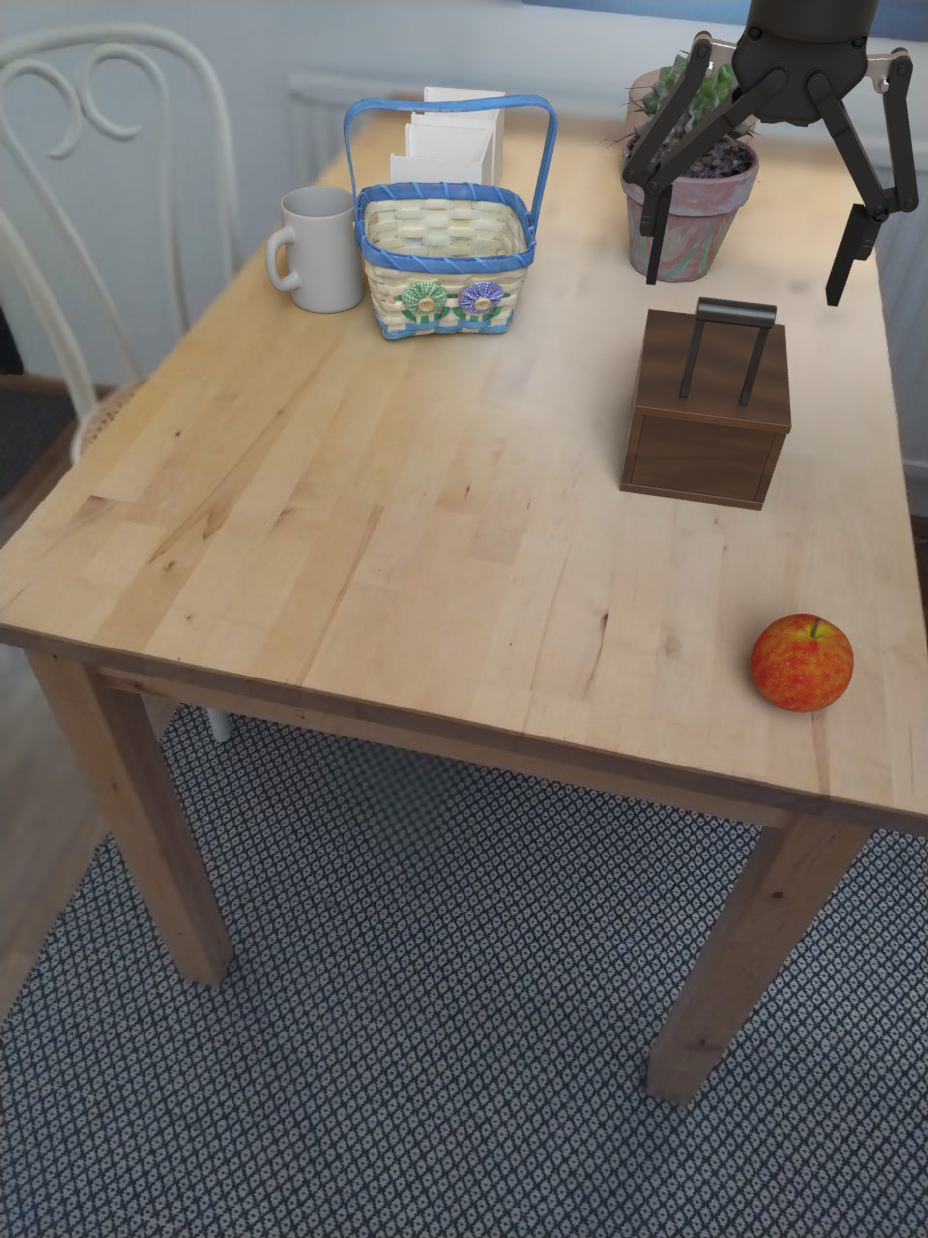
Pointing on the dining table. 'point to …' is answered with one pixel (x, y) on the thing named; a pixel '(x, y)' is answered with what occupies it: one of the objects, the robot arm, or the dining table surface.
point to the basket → (446, 238)
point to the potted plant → (692, 181)
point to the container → (641, 117)
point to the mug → (318, 250)
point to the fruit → (802, 663)
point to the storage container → (452, 143)
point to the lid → (716, 366)
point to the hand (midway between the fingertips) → (740, 287)
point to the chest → (698, 460)
